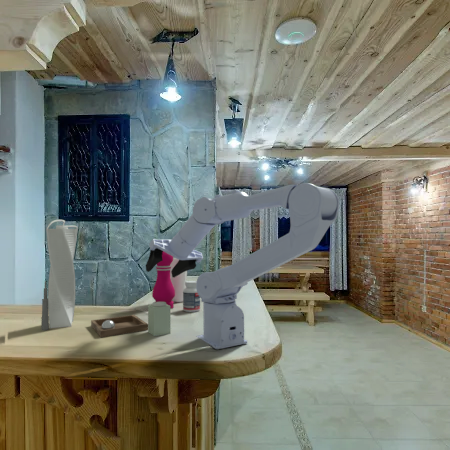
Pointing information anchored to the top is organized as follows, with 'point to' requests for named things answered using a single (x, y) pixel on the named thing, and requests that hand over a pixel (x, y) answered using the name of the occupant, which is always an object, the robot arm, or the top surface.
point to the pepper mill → (164, 281)
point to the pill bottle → (191, 297)
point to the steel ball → (108, 325)
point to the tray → (120, 325)
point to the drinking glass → (178, 282)
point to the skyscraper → (60, 278)
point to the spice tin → (159, 318)
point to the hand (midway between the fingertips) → (160, 271)
